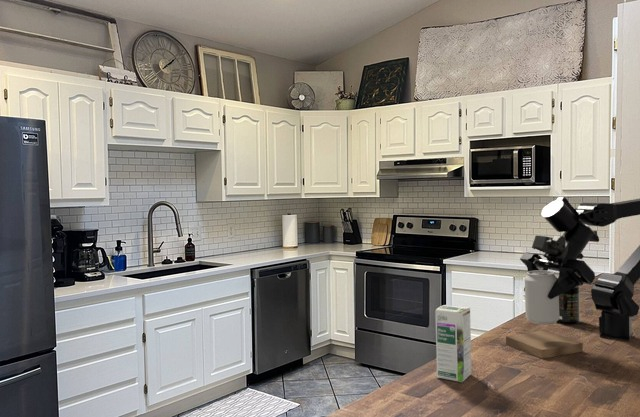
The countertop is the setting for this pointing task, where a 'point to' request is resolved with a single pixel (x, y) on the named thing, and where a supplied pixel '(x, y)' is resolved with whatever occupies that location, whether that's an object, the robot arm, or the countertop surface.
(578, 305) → the supplement container
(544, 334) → the tan board
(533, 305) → the can
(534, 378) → the countertop surface
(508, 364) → the countertop surface
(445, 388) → the countertop surface
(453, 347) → the syrup box
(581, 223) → the robot arm
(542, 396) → the countertop surface
